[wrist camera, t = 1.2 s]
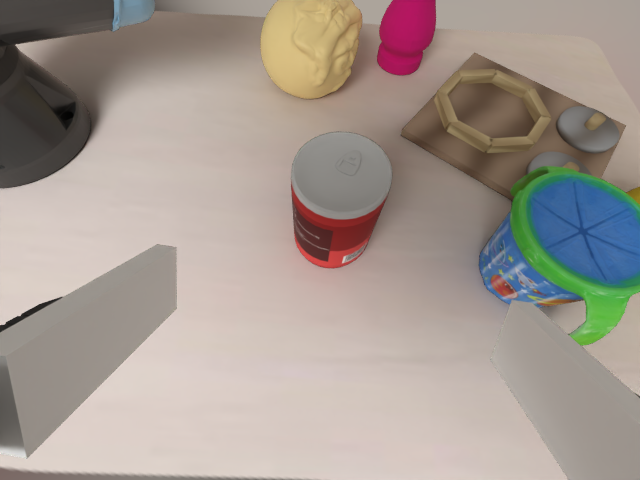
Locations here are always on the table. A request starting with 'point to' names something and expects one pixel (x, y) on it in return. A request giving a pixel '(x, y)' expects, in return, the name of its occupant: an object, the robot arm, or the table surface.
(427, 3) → the pepper mill
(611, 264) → the snack cup
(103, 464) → the table surface
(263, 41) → the sculpture
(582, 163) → the board
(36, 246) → the table surface
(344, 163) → the canned food
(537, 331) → the robot arm
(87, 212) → the table surface
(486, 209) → the table surface
